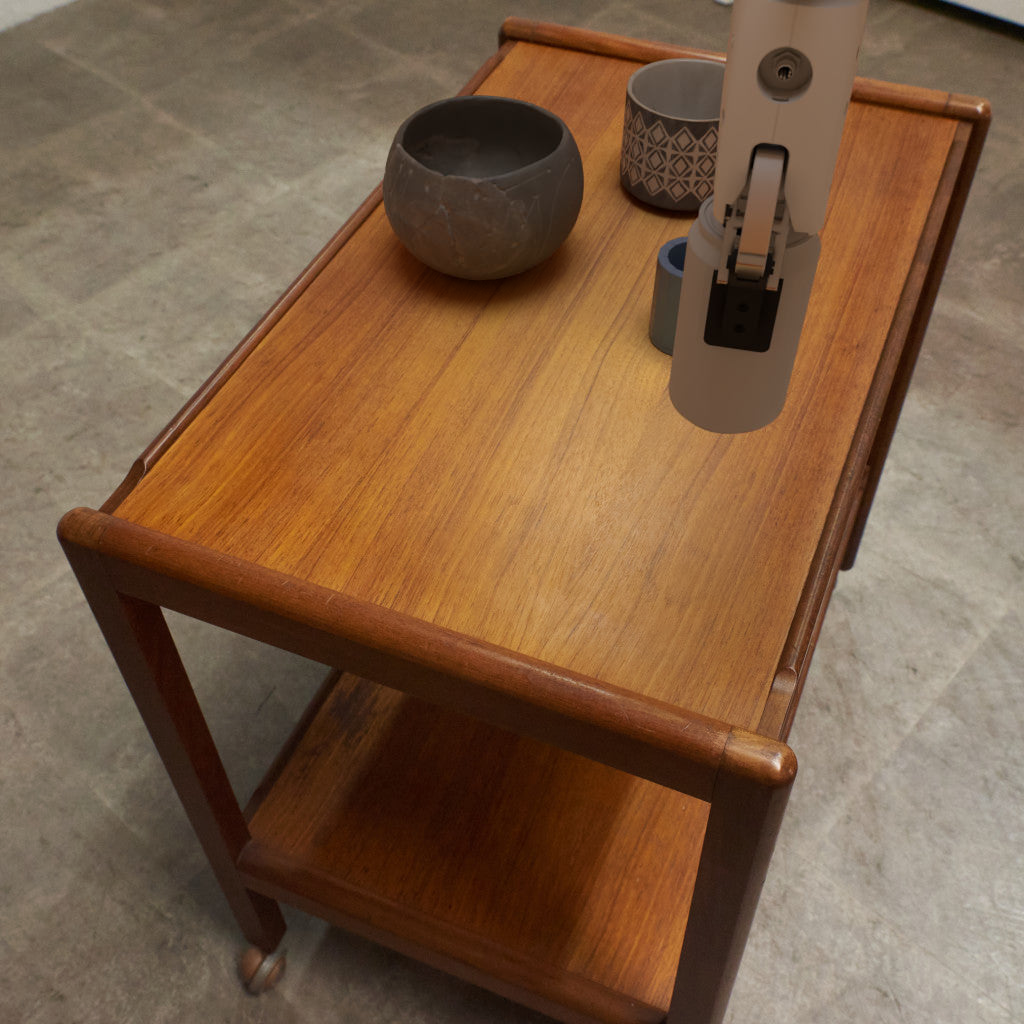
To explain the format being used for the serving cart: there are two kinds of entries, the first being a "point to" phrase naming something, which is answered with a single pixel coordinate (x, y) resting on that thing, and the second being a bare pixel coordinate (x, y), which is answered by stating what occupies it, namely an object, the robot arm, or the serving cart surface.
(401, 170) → the bowl
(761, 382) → the beverage can
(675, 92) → the planter
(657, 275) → the cup
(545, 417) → the serving cart surface
